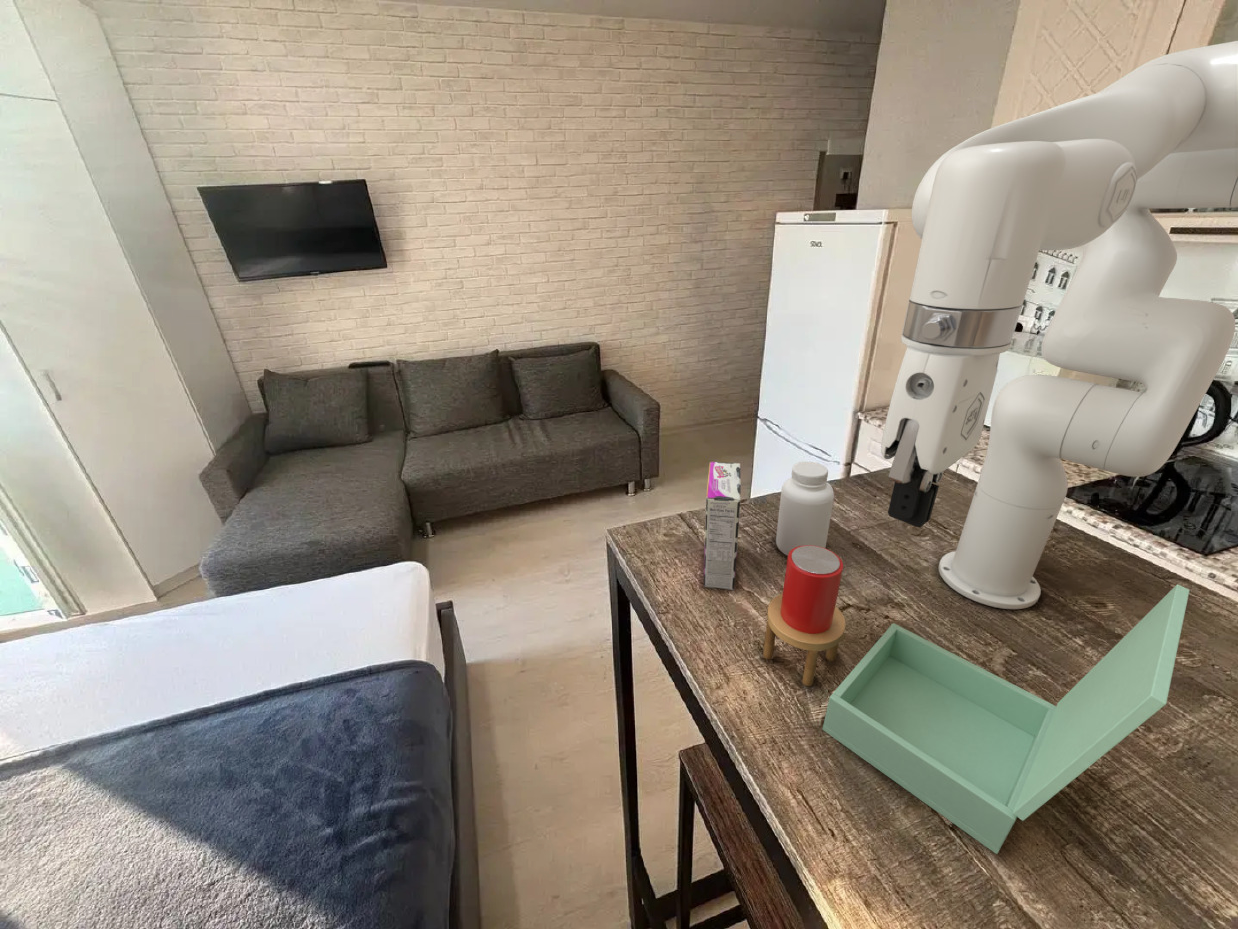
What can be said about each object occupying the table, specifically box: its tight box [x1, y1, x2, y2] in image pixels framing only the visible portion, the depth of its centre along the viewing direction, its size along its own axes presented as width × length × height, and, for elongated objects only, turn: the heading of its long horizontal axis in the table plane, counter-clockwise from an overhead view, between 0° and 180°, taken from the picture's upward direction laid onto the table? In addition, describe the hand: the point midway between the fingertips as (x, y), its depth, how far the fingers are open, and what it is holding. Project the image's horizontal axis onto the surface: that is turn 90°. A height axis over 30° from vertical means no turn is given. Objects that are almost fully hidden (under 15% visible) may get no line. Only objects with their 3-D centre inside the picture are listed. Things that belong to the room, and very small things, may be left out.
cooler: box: [822, 622, 1057, 855], centre depth 54 cm, size 17×16×5 cm
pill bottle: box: [775, 461, 835, 557], centre depth 83 cm, size 8×8×15 cm
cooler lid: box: [1013, 584, 1190, 822], centre depth 42 cm, size 18×16×1 cm
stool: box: [762, 592, 846, 687], centre depth 64 cm, size 9×9×7 cm
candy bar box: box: [703, 461, 742, 591], centre depth 78 cm, size 11×5×16 cm, turn 168°
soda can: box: [780, 545, 844, 634], centre depth 60 cm, size 6×6×9 cm
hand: (907, 518), depth 49 cm, fingers closed
